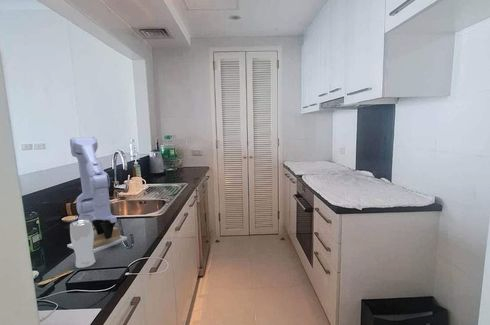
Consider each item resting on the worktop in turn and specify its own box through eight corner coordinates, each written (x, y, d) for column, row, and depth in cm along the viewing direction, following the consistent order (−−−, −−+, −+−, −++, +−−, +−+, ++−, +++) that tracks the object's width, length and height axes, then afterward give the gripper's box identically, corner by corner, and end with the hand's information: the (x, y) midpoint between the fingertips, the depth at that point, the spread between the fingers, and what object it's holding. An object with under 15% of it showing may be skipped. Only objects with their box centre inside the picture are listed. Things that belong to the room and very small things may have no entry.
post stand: (67, 247, 110) (65, 234, 109) (104, 233, 123) (103, 221, 123) (90, 254, 102) (88, 240, 101) (127, 239, 115) (126, 226, 115)
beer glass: (101, 260, 96) (97, 219, 95) (84, 270, 90) (79, 226, 88) (86, 258, 99) (82, 218, 97) (69, 267, 92) (63, 225, 91)
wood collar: (75, 243, 110) (74, 233, 110) (103, 233, 120) (102, 224, 120) (92, 248, 104) (91, 238, 104) (120, 237, 114) (119, 228, 114)
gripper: (81, 205, 108) (85, 237, 110) (103, 209, 101) (106, 244, 102) (98, 201, 114) (101, 232, 116) (120, 204, 107) (123, 237, 108)
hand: (105, 237), depth 109 cm, fingers open, 4 cm apart
